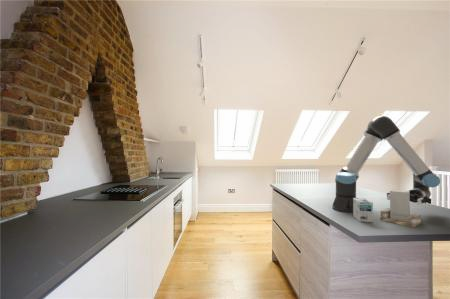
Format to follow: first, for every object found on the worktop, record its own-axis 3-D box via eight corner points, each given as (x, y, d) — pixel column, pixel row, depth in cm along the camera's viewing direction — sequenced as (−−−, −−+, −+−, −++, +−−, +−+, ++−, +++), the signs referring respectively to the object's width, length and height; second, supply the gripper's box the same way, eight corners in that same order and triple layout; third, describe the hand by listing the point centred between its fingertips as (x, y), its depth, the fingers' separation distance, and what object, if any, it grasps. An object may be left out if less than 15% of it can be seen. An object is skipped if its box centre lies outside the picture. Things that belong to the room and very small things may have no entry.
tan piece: (379, 219, 127) (379, 210, 127) (388, 216, 134) (388, 207, 134) (413, 227, 115) (414, 217, 115) (421, 223, 122) (421, 213, 122)
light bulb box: (373, 222, 122) (373, 202, 122) (359, 221, 123) (359, 201, 123) (365, 217, 132) (365, 198, 132) (352, 216, 134) (352, 197, 134)
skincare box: (410, 219, 125) (410, 190, 125) (409, 222, 120) (409, 192, 120) (391, 216, 130) (391, 189, 130) (389, 219, 125) (389, 190, 125)
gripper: (443, 206, 128) (432, 211, 115) (391, 198, 148) (376, 202, 136) (444, 192, 128) (432, 196, 115) (391, 186, 148) (376, 189, 136)
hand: (402, 199), depth 125 cm, fingers open, 13 cm apart
